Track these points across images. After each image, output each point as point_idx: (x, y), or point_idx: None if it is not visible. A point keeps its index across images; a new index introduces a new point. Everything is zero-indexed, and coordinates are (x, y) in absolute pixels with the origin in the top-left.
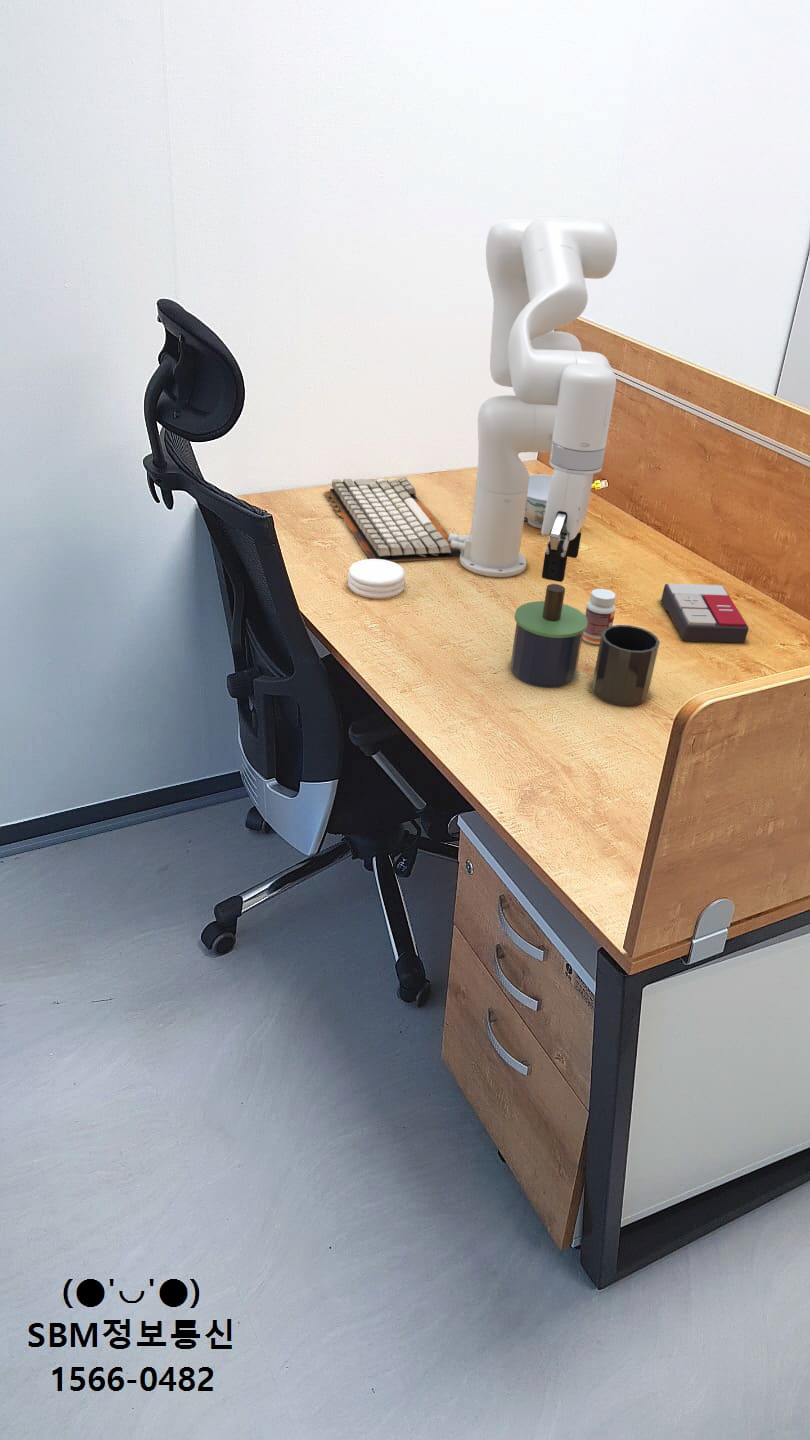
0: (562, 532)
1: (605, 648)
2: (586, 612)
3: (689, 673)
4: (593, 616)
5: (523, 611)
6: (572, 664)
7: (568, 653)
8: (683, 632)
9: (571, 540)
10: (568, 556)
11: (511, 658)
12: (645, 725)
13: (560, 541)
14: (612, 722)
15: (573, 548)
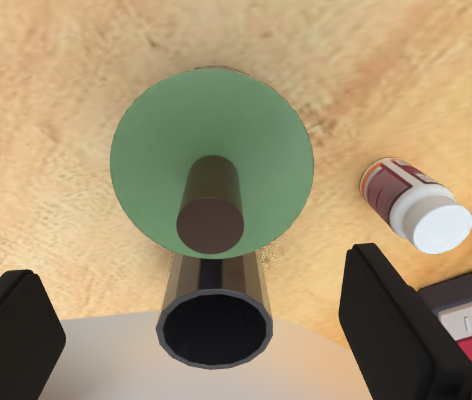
0: (418, 372)
1: (170, 295)
2: (405, 182)
3: (320, 311)
4: (388, 201)
5: (202, 96)
6: None
7: None
8: (429, 297)
9: (380, 374)
10: (341, 292)
11: (195, 69)
12: (149, 297)
13: (382, 308)
14: (127, 264)
15: (357, 344)
